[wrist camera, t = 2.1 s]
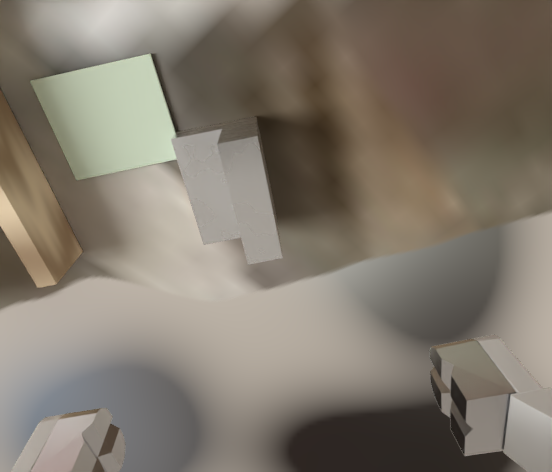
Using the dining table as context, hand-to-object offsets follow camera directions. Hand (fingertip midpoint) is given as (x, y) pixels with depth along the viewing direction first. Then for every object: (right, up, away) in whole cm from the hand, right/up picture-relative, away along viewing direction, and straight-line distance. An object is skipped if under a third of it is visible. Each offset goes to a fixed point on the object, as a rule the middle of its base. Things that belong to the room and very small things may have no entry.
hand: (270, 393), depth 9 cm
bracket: (-3, +8, +15) cm, 18 cm away
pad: (-10, +11, +13) cm, 20 cm away
